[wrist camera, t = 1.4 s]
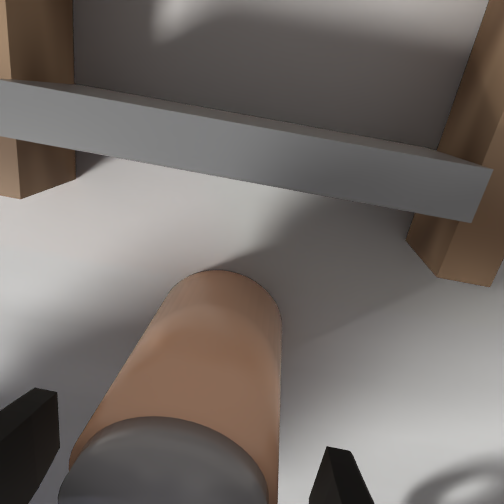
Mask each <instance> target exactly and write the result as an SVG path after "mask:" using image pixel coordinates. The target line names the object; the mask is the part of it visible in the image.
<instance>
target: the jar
mask: <svg viewBox="0 0 504 504" xmlns="http://www.w3.org/2000/svg"><path fill="white" fill-rule="evenodd" d="M281 350H282V320H281V315H280V312H279V309H278V307H277V305H276V303H275V301H274V300H273V298H272V297H271V296H270V294H269V293H268V292H267V291H266V290H265V289H264V288H263V287H262V286H261V285H259V284H258V283H256V282H255V281H253V280H252V279H250V278H248V277H246V276H243V275H241V274H238V273H234V272H230V271H223V270H209V271H203V272H199V273H195V274H193V275H190V276H188V277H186V278H184V279H183V280H181V281H180V282H179V283H177V284H176V285H175V286H174V287H173V288H172V289H171V291H170V292H169V293H168V295H167V297H166V298H165V300H164V301H163V303H162V305H161V306H160V308H159V309H158V311H157V313H156V314H155V316H154V317H153V319H152V321H151V322H150V324H149V325H148V327H147V329H146V330H145V332H144V334H143V335H142V337H141V338H140V340H139V342H138V343H137V345H136V346H135V348H134V350H133V351H132V353H131V354H130V356H129V358H128V359H127V361H126V363H125V364H124V366H123V367H122V369H121V371H120V372H119V374H118V375H117V377H116V379H115V380H114V382H113V383H112V385H111V387H110V388H109V390H108V392H107V393H106V395H105V396H104V398H103V400H102V401H101V403H100V404H99V406H98V408H97V409H96V411H95V412H94V414H93V416H92V417H91V419H90V420H89V422H88V424H87V425H86V427H85V429H84V430H83V432H82V433H81V435H80V437H79V438H78V440H77V441H76V443H75V445H74V447H73V449H72V452H71V456H70V459H69V472H68V474H67V476H66V477H65V479H64V481H63V483H62V485H61V487H60V491H59V494H58V504H277V503H278V466H279V427H280V389H281Z"/></svg>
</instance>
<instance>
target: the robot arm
mask: <svg viewBox="0 0 504 504" xmlns="http://www.w3.org/2000/svg"><path fill="white" fill-rule="evenodd" d="M59 448H60V439H59V420H58V400H57V392H54V391H49V390H44V389H39V388H34V389H32V390H30V391H29V392H27V393H26V394H24V395H23V396H21V397H20V398H18V399H17V400H15V401H14V402H13V403H11V404H10V405H8V406H7V407H5V408H4V409H2V410H1V411H0V504H28V503H29V501H30V500H31V498H32V497H33V495H34V494H35V492H36V491H37V489H38V488H39V486H40V484H41V482H42V480H43V478H44V477H45V475H46V473H47V471H48V469H49V467H50V465H51V463H52V462H53V460H54V458H55V456H56V454H57V452H58V450H59ZM309 504H374V501H373V499H372V497H371V495H370V493H369V491H368V488H367V486H366V484H365V482H364V480H363V477H362V475H361V473H360V470H359V468H358V466H357V464H356V461H355V459H354V456H353V455H352V453H351V452H350V451H348V450H343V449H338V448H333V447H328V446H327V447H326V450H325V453H324V456H323V459H322V462H321V465H320V467H319V470H318V473H317V476H316V479H315V482H314V485H313V488H312V491H311V494H310V497H309Z"/></svg>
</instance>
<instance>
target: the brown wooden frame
mask: <svg viewBox="0 0 504 504" xmlns="http://www.w3.org/2000/svg"><path fill="white" fill-rule="evenodd" d="M0 79H13V80H25V81H38V82H50V83H63V84H74V55H73V0H0ZM437 151H439V152H442V153H445V154H448V155H451V156H454V157H457V158H460V159H463V160H466V161H469V162H472V163H475V164H478V165H481V166H484V167H487V168H490V169H494V170H493V172H492V174H491V177H490V179H489V182H488V184H487V186H486V189H485V191H484V194H483V196H482V199H481V201H480V203H479V206H478V208H477V211H476V213H475V215H474V218H473V220H472V223H468V222H462V221H457V220H452V219H446V218H441V217H435V216H430V215H425V214H419V213H415V214H414V217H413V220H412V223H411V226H410V229H409V232H408V234H407V237H406V240H405V241H406V242H407V243H408V244H409V245H410V246H411V248H412V249H413V250H414V251H415V252H416V253H417V255H418V256H419V257H420V258H421V259H422V260H423V262H424V263H425V264H426V265H427V266H428V268H429V269H430V270H431V271H432V272H433V273H434V275H435V276H436V277H438V278H443V279H448V280H454V281H459V282H464V283H470V284H475V285H480V286H486V287H490V286H491V284H492V282H493V280H494V278H495V276H496V274H497V271H498V269H499V267H500V265H501V263H502V261H503V259H504V0H489V2H488V5H487V8H486V11H485V14H484V17H483V20H482V22H481V25H480V28H479V31H478V34H477V37H476V40H475V42H474V45H473V48H472V51H471V54H470V57H469V60H468V63H467V65H466V68H465V71H464V74H463V77H462V80H461V83H460V85H459V88H458V91H457V94H456V97H455V100H454V103H453V106H452V108H451V111H450V114H449V117H448V120H447V123H446V126H445V128H444V131H443V134H442V137H441V140H440V143H439V146H438V148H437ZM75 179H76V166H75V150H72V149H67V148H61V147H56V146H51V145H45V144H40V143H34V142H29V141H23V140H18V139H13V138H7V137H2V136H0V195H1V196H6V197H11V198H17V199H23V198H25V197H28V196H31V195H34V194H36V193H39V192H42V191H45V190H47V189H50V188H53V187H55V186H58V185H61V184H64V183H66V182H69V181H72V180H75Z"/></svg>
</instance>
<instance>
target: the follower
mask: <svg viewBox="0 0 504 504" xmlns="http://www.w3.org/2000/svg"><path fill="white" fill-rule="evenodd" d="M0 136H2V137H7V138H13V139H18V140H23V141H29V142H34V143H40V144H45V145H51V146H56V147H61V148H67V149H72V150H78V151H83V152H89V153H94V154H99V155H105V156H110V157H116V158H121V159H126V160H132V161H137V162H143V163H148V164H154V165H159V166H164V167H170V168H175V169H181V170H186V171H191V172H197V173H202V174H208V175H213V176H219V177H224V178H229V179H235V180H240V181H246V182H251V183H257V184H262V185H267V186H273V187H278V188H284V189H289V190H294V191H300V192H305V193H311V194H316V195H322V196H327V197H332V198H338V199H343V200H349V201H354V202H359V203H365V204H370V205H376V206H381V207H387V208H392V209H397V210H403V211H408V212H414V213H419V214H425V215H430V216H435V217H441V218H446V219H452V220H457V221H462V222H468V223H472V220H473V218H474V215H475V213H476V211H477V208H478V206H479V203H480V201H481V199H482V196H483V194H484V191H485V189H486V186H487V184H488V182H489V179H490V177H491V174H492V172H493V170H494V169H490V168H487V167H484V166H481V165H478V164H475V163H472V162H469V161H466V160H463V159H460V158H457V157H454V156H451V155H448V154H445V153H442V152H439V151H436V150H433V149H430V148H426V147H421V146H415V145H410V144H404V143H399V142H393V141H388V140H382V139H377V138H371V137H366V136H360V135H354V134H349V133H343V132H338V131H332V130H327V129H321V128H316V127H310V126H305V125H299V124H294V123H288V122H283V121H277V120H272V119H266V118H261V117H255V116H250V115H244V114H239V113H233V112H227V111H222V110H216V109H211V108H205V107H200V106H194V105H189V104H183V103H178V102H172V101H167V100H161V99H156V98H150V97H145V96H139V95H134V94H128V93H123V92H117V91H111V90H106V89H100V88H95V87H89V86H84V85H75V84H63V83H50V82H38V81H25V80H13V79H0Z"/></svg>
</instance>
